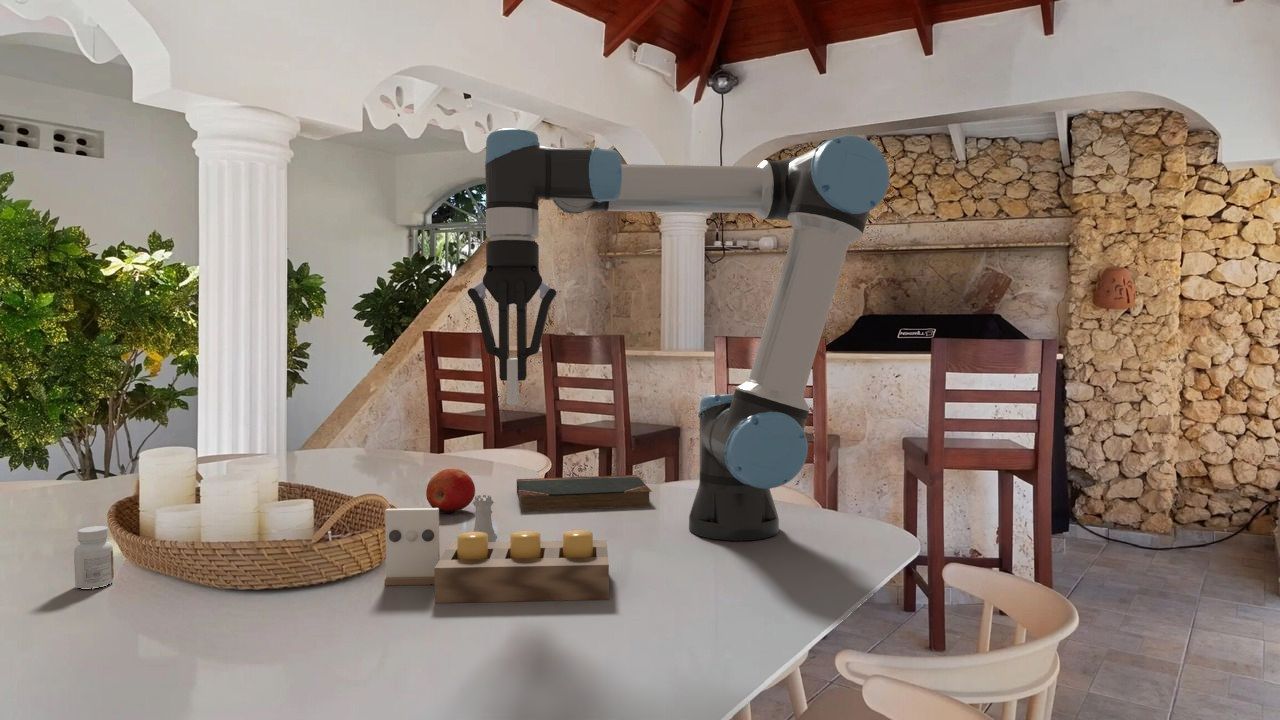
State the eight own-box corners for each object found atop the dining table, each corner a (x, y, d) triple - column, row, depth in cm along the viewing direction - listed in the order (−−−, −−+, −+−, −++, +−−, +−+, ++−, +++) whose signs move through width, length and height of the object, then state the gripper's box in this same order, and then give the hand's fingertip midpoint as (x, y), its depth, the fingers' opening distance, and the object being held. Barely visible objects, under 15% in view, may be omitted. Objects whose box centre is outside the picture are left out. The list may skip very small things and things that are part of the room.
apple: (481, 510, 159) (481, 468, 158) (449, 519, 152) (448, 475, 151) (450, 505, 163) (450, 464, 163) (417, 514, 156) (417, 470, 156)
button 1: (489, 562, 116) (489, 531, 116) (486, 570, 112) (485, 539, 112) (460, 562, 116) (459, 531, 116) (455, 571, 112) (455, 539, 112)
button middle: (541, 561, 117) (541, 530, 116) (539, 569, 113) (539, 538, 112) (511, 561, 116) (511, 531, 116) (509, 570, 112) (508, 538, 112)
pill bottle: (121, 582, 116) (119, 526, 116) (91, 592, 112) (89, 534, 112) (97, 579, 118) (96, 523, 117) (67, 588, 114) (65, 531, 113)
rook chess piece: (491, 551, 132) (491, 500, 131) (464, 550, 132) (464, 498, 132) (502, 544, 136) (501, 494, 135) (475, 542, 137) (475, 493, 136)
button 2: (592, 560, 117) (592, 529, 117) (592, 568, 113) (592, 537, 113) (563, 560, 117) (563, 530, 117) (562, 569, 113) (562, 538, 113)
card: (441, 577, 118) (440, 506, 118) (437, 584, 115) (436, 511, 115) (389, 578, 118) (388, 507, 117) (384, 585, 115) (383, 512, 114)
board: (606, 571, 121) (606, 540, 121) (608, 599, 109) (608, 564, 109) (450, 574, 120) (449, 542, 120) (434, 603, 108) (434, 567, 108)
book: (519, 514, 158) (651, 508, 163) (519, 495, 158) (651, 490, 162) (516, 495, 175) (636, 490, 180) (516, 477, 175) (636, 473, 180)
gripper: (559, 242, 127) (559, 400, 129) (470, 242, 127) (472, 400, 128) (556, 238, 120) (556, 405, 121) (462, 237, 119) (464, 406, 120)
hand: (513, 403), depth 124 cm, fingers closed
